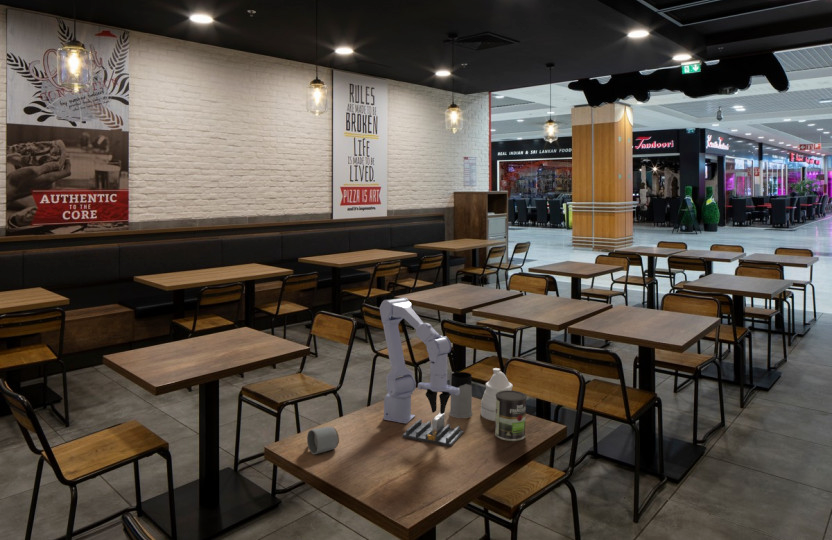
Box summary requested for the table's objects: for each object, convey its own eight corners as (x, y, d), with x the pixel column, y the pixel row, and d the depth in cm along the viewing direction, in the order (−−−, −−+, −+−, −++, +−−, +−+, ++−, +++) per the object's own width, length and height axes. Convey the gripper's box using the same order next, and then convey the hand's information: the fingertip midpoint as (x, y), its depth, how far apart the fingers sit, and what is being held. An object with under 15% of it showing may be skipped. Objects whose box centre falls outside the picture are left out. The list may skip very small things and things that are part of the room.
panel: (432, 436, 192) (432, 419, 191) (440, 429, 198) (440, 412, 197) (436, 437, 191) (436, 420, 190) (444, 429, 198) (444, 413, 197)
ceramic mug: (340, 451, 183) (340, 427, 182) (318, 458, 178) (317, 434, 177) (324, 440, 191) (323, 418, 191) (302, 447, 186) (301, 424, 186)
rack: (402, 437, 194) (402, 430, 193) (417, 424, 205) (417, 417, 204) (450, 446, 187) (450, 439, 186) (463, 433, 197) (463, 426, 197)
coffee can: (531, 437, 194) (533, 397, 192) (506, 443, 189) (507, 402, 187) (513, 426, 203) (514, 388, 201) (488, 432, 198) (489, 392, 197)
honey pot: (503, 424, 205) (505, 375, 203) (474, 415, 214) (474, 368, 211) (522, 414, 215) (523, 367, 213) (493, 405, 223) (494, 360, 221)
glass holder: (455, 419, 209) (455, 379, 207) (439, 406, 222) (440, 368, 221) (476, 416, 213) (477, 377, 211) (460, 403, 226) (460, 366, 224)
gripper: (413, 373, 191) (413, 412, 193) (454, 379, 185) (454, 420, 187) (422, 368, 198) (422, 405, 199) (462, 373, 192) (461, 412, 193)
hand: (438, 412), depth 194 cm, fingers closed
